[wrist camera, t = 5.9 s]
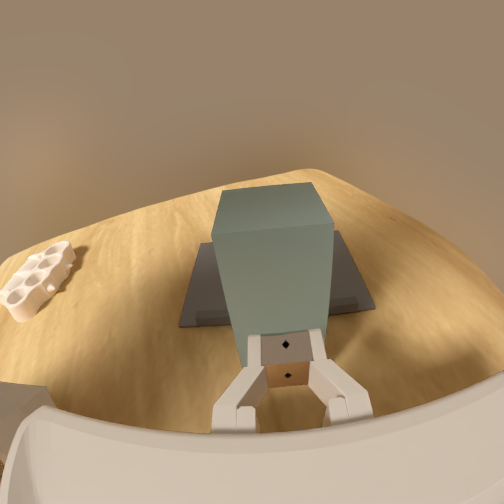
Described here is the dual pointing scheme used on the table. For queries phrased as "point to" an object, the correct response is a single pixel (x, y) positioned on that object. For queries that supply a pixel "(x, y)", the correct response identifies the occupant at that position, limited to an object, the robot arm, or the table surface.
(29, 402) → the die
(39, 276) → the white multi-hole holder
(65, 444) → the robot arm
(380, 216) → the table surface
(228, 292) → the block
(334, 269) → the charcoal mat
